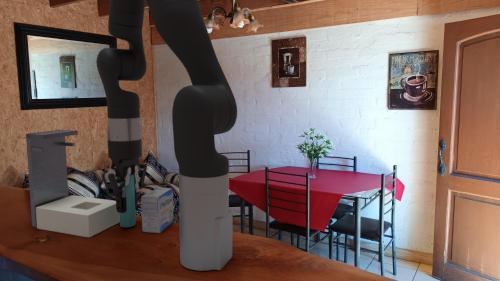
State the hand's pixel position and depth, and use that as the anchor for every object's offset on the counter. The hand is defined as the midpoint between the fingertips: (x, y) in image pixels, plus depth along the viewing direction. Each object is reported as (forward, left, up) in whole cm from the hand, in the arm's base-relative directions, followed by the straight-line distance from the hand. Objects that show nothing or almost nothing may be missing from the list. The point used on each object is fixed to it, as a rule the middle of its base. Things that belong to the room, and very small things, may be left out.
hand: (127, 209), depth 89 cm
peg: (0, 0, -4) cm, 4 cm away
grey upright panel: (+18, +3, -4) cm, 19 cm away
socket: (+11, +3, -4) cm, 12 cm away
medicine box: (-7, -2, -4) cm, 8 cm away
